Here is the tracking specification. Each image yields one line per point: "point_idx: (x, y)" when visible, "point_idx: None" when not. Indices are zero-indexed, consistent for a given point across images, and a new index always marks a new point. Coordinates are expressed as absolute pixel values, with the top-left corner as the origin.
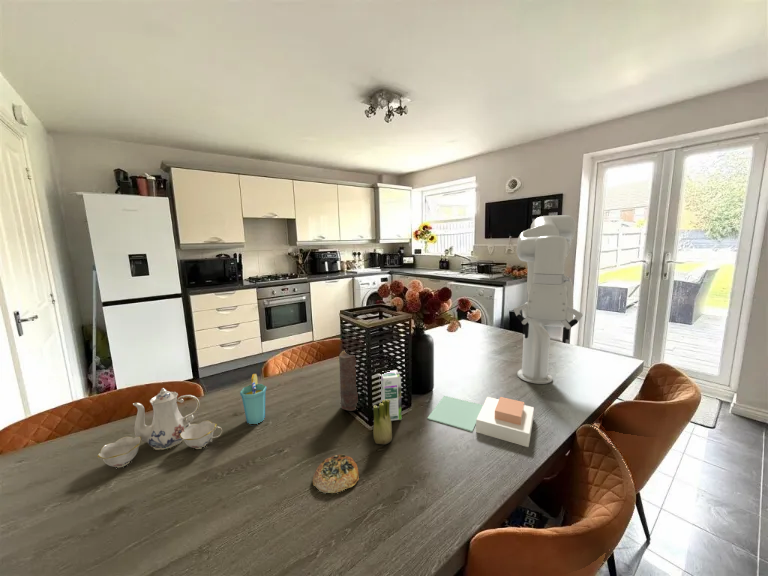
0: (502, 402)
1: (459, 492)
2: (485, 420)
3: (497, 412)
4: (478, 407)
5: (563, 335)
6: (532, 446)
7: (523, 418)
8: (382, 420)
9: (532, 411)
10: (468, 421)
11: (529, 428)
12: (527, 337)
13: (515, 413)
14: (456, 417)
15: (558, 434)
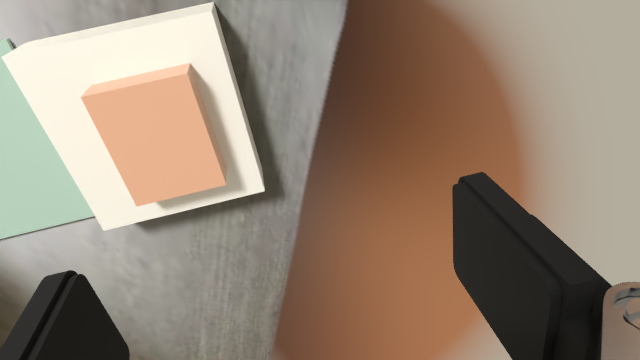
0: (120, 137)
1: (214, 351)
2: (128, 216)
3: (147, 201)
4: (5, 75)
5: (494, 326)
6: (268, 157)
7: (216, 125)
8: None
9: (221, 52)
10: (58, 182)
11: (255, 166)
12: (125, 348)
13: (201, 177)
14: (11, 189)
15: (313, 45)
